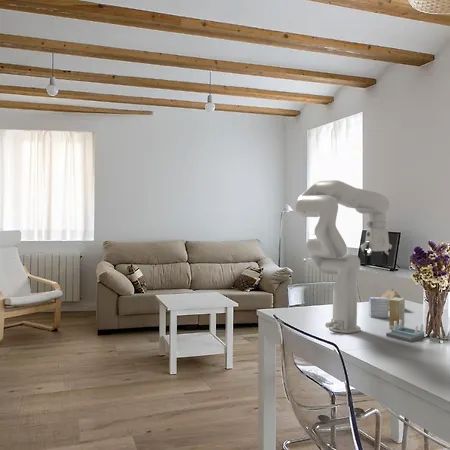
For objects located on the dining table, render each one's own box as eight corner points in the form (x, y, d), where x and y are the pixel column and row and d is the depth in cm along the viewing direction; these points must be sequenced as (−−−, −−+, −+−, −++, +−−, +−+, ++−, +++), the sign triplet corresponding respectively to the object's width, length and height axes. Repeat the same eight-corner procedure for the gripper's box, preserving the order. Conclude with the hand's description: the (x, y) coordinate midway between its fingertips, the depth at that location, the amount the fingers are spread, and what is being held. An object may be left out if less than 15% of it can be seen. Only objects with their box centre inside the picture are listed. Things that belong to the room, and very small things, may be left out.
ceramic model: (374, 306, 242) (374, 286, 242) (394, 305, 245) (394, 286, 244) (389, 312, 229) (389, 291, 228) (410, 311, 231) (410, 290, 230)
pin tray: (409, 341, 176) (410, 328, 176) (386, 336, 184) (386, 322, 184) (429, 336, 185) (430, 322, 185) (406, 330, 193) (406, 318, 192)
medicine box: (386, 315, 220) (386, 297, 220) (388, 318, 215) (388, 299, 215) (368, 315, 221) (368, 296, 220) (370, 317, 216) (370, 298, 216)
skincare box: (394, 325, 201) (394, 296, 201) (404, 327, 198) (405, 298, 198) (388, 328, 196) (389, 299, 196) (399, 330, 193) (399, 300, 193)
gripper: (368, 225, 203) (366, 265, 203) (398, 225, 210) (396, 264, 211) (355, 225, 210) (354, 263, 210) (385, 225, 217) (384, 262, 217)
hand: (376, 264), depth 210 cm, fingers open, 9 cm apart
